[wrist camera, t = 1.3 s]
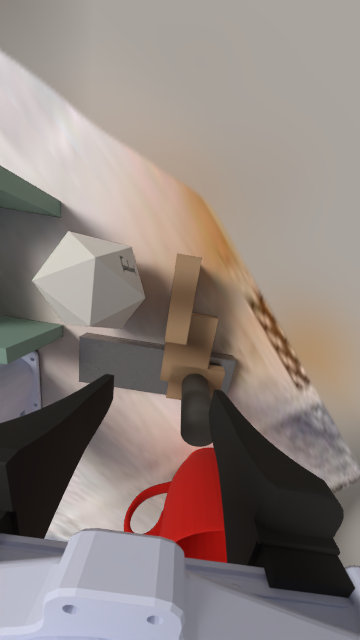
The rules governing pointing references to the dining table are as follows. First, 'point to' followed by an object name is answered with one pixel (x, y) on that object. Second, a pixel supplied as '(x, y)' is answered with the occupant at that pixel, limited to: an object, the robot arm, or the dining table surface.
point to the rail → (134, 363)
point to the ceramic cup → (190, 508)
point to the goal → (15, 333)
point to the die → (91, 282)
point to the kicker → (190, 354)
